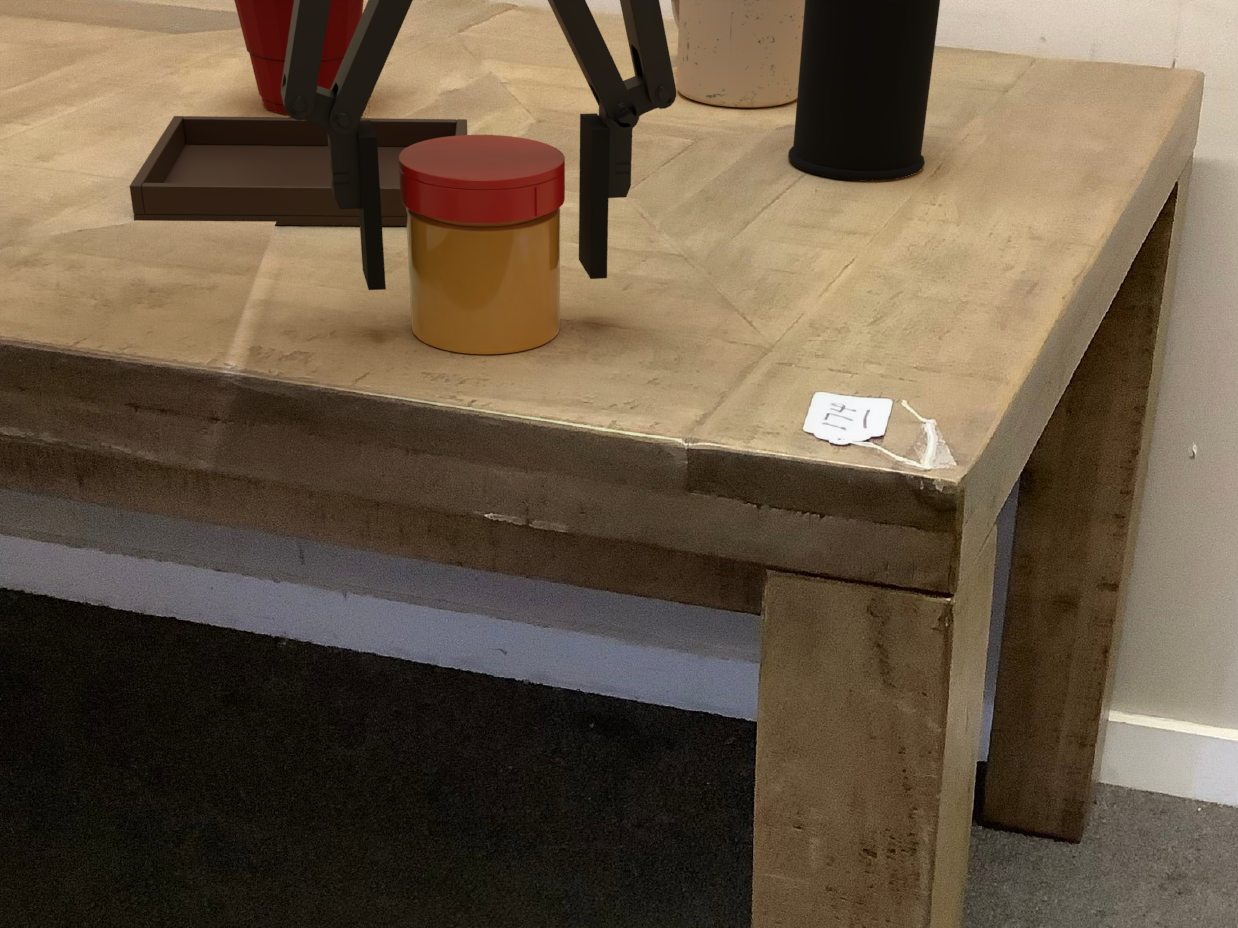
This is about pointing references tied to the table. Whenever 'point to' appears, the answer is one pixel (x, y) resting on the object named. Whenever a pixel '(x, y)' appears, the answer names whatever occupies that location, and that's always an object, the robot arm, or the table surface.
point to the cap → (482, 178)
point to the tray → (266, 170)
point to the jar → (484, 283)
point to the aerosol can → (864, 87)
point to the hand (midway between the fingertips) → (484, 274)
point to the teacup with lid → (739, 51)
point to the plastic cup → (266, 37)
